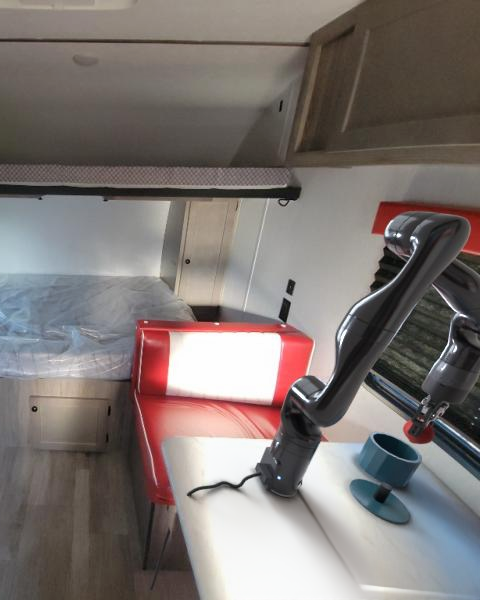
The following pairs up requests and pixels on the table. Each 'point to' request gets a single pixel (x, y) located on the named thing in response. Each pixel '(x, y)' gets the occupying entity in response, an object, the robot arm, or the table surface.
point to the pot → (389, 459)
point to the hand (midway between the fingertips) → (417, 431)
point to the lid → (379, 500)
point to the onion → (424, 437)
